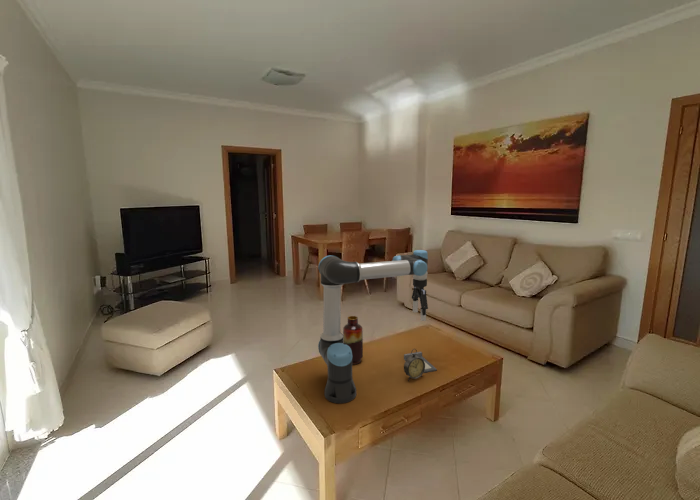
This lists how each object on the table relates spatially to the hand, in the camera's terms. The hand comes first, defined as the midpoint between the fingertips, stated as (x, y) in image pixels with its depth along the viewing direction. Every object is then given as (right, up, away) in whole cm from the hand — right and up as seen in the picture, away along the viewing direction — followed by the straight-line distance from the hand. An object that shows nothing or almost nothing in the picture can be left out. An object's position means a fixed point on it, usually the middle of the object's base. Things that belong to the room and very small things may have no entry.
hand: (419, 316), depth 186 cm
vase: (-36, -28, +9) cm, 46 cm away
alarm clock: (-5, -30, -11) cm, 33 cm away
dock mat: (+1, -28, +2) cm, 28 cm away
